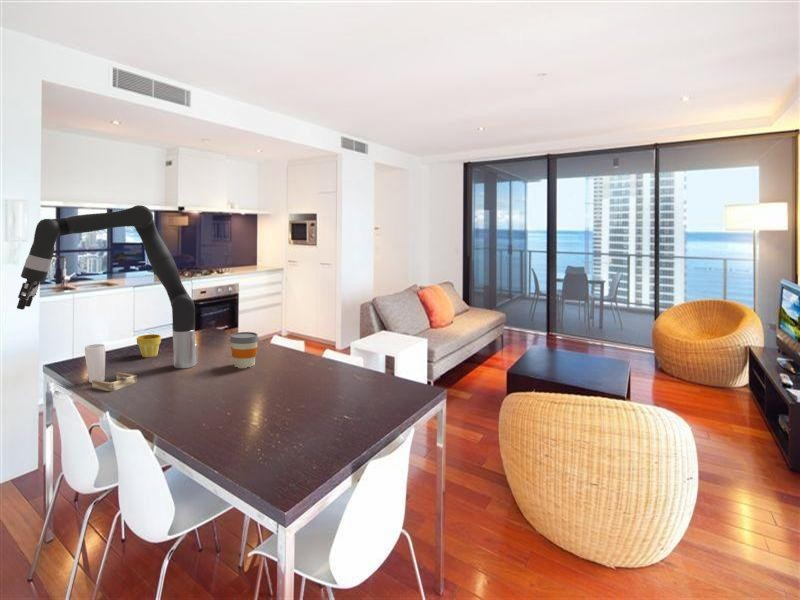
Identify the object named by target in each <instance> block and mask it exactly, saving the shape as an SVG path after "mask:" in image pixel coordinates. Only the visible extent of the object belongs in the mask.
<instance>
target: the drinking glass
mask: <svg viewBox="0 0 800 600" xmlns="http://www.w3.org/2000/svg"><path fill="white" fill-rule="evenodd" d="M84 357H85V362H86V369H87V375H88V381H89V383H91V384H92V380H100V381H105V379H106V375H105V373H106V345H105V344H103V343H102V344H101V343H95V344H89V345H86V346H84Z"/></svg>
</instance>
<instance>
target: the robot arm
mask: <svg viewBox="0 0 800 600" xmlns="http://www.w3.org/2000/svg"><path fill="white" fill-rule="evenodd" d="M121 227H123V228H124V227H134V229H135V231H136V232H137V234H138V236H139V237H140V240H141V242H142V245H143V248H144V251H145V254H146V256H147V259H148V261H149V262H148V263H149V264H150V266H151V268H152V270H153V272H154V273H155V275H156V277H157V278H158V280H159V281H160V283H161V284H162V286H163V287H164V289H165V291H166V294H167V296H168V299H169V303H170V306H171V312H172V314H171V316H172V318H171V319H172V323H171V324H172V347H173V348H172V353H173V367H174V368H176V369H189V368H193V367H195V366H196V365H197V364H198V345H197V343H196V330H195V329H196V306H195V302H194V300H193V299H192V298H191V296H190V294H189V293H188V292H187V290H186V287H184V284H183V282H182V280H181V277H180V274H179V270H178V267H177V264H176V262H175V260H174V257H173V255H172V254H171V251H170V250H169V248H168V246H167V245H166V243H165V242H164V240H163V238H162V237H161V235H160V234H159V231H158V228H157V225H156V224H155V220H154V214H153V212H152V210H151V209H149V207H147V206H145V205H133V206H132V207H130V208H126V209H122V210H118V211H111V212H103V213H102V212H100V213H88V214H79V215H77V214H76V215H73V216H68V217H60V218H44V219H41V220H40V221H39V222H38V223H37V224H36V227H35V231H34V235H33V242H32V244H31V247H30V250H29V252H28V256H27V258H26V259H25V262H24V265H23V268H22V272H21V274H20V277H21V278H23V279H26V281H25V282H23V283H22V284H21V288H20V290H19V294H18V296H17V297H18V299H19V300H18V303H17V305H16V309H17V310H25V308H26V307H31V306H32V303H33V298H35V296H37V293H38V290H39V286H40V283H45V282H46V280H47V276H48V274H49V270H50V267H51V264H52V259H53V256H54V253H55V244H56V241H57V239H58V237H61V236H63V237H64V236H67V235H73V234H76V235H77V234H84V233H85V234H86V233H91V232H93V233H94V232H98V231H104V230H108V229H113V228H121Z"/></svg>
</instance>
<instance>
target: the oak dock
mask: <svg viewBox="0 0 800 600" xmlns="http://www.w3.org/2000/svg"><path fill="white" fill-rule="evenodd" d="M115 377H116V378H115V379H116V381H112V382H111V381H110V382H109V381H105V380H104V381H100V380H92V383H91V386H92V389H97V390H101V391H105V392H106V391H107V392H115V391H117V390H119V389H120V390H121V389H123V388H126V387H128V386H130V385H134V384H137V383H138V375H137V374H130V373H124V372H120V371H118V372H115Z"/></svg>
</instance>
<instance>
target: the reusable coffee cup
mask: <svg viewBox="0 0 800 600" xmlns="http://www.w3.org/2000/svg"><path fill="white" fill-rule="evenodd" d="M229 341H230V345H231V346H230V351H231V357H232V358H233V363H234V368H236V367H238V368H237V369H248V368H247V367H250V368H252V367H251V366H253V365H254V366H255V363H256V356H257V355H258V354H257V353H258V347H259V345H258V341H259V335H258V333H256V332H252V331H241V332H234V333H231V334H230V339H229ZM254 366H253V367H254Z"/></svg>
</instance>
